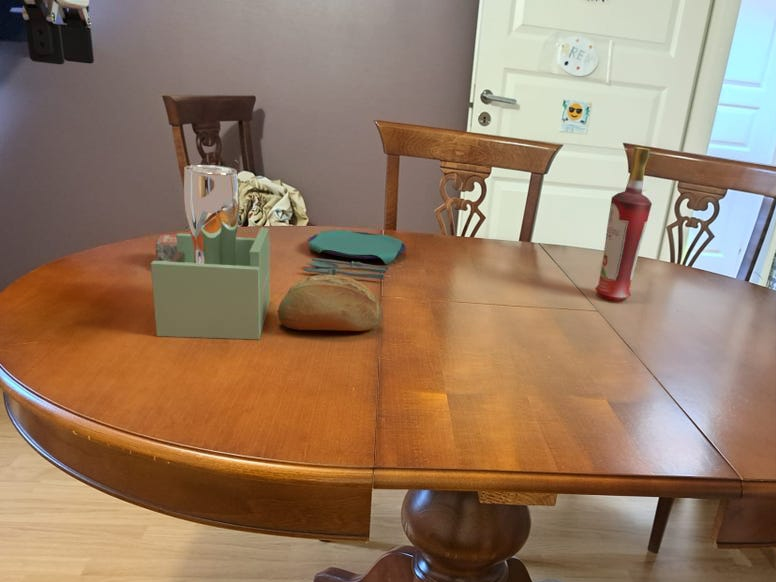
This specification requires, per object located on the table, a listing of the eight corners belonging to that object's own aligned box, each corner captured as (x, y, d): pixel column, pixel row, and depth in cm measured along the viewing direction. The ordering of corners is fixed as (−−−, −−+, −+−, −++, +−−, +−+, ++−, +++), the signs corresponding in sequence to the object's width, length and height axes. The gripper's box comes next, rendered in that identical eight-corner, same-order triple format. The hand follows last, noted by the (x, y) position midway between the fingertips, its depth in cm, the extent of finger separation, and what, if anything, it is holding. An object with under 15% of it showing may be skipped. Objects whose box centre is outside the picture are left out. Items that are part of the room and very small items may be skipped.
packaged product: (152, 244, 109) (156, 229, 117) (154, 272, 111) (158, 256, 119) (266, 246, 116) (262, 232, 124) (267, 273, 117) (262, 257, 126)
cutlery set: (410, 246, 147) (411, 236, 146) (393, 285, 119) (394, 273, 118) (320, 235, 146) (320, 225, 145) (282, 273, 119) (282, 260, 118)
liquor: (586, 291, 130) (614, 144, 119) (618, 292, 133) (649, 147, 122) (603, 304, 124) (635, 149, 113) (637, 304, 127) (671, 153, 116)
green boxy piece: (156, 336, 88) (149, 247, 83) (182, 297, 102) (177, 219, 97) (259, 339, 91) (258, 254, 86) (270, 301, 105) (269, 226, 100)
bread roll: (384, 343, 95) (388, 290, 91) (275, 340, 91) (275, 284, 88) (379, 319, 103) (382, 269, 100) (279, 315, 100) (279, 264, 96)
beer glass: (245, 271, 98) (242, 167, 92) (237, 286, 91) (234, 175, 85) (194, 268, 96) (188, 162, 90) (183, 283, 90) (176, 170, 84)
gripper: (36, -103, 77) (56, 58, 83) (-40, -143, 61) (-8, 58, 68) (107, -92, 78) (121, 65, 85) (51, -128, 63) (73, 67, 70)
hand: (64, 62), depth 77 cm, fingers open, 9 cm apart
